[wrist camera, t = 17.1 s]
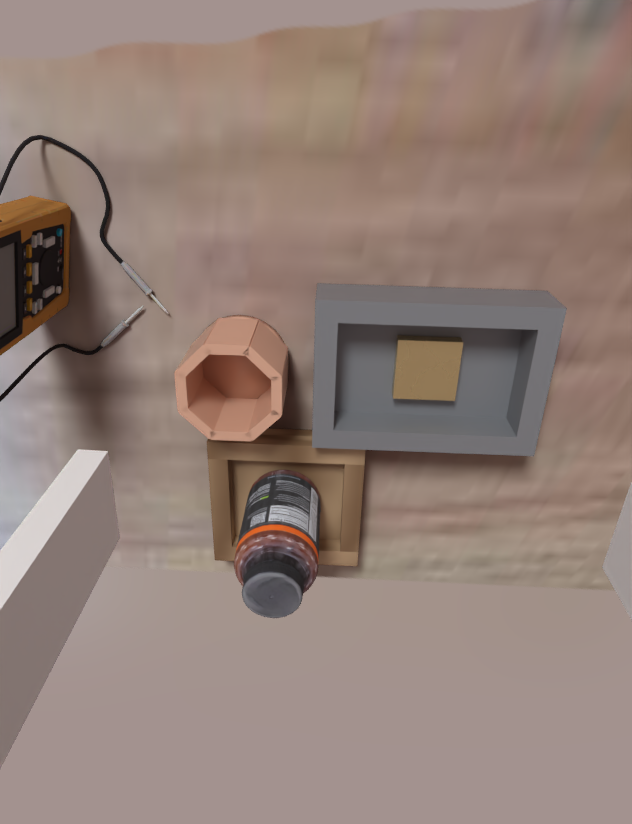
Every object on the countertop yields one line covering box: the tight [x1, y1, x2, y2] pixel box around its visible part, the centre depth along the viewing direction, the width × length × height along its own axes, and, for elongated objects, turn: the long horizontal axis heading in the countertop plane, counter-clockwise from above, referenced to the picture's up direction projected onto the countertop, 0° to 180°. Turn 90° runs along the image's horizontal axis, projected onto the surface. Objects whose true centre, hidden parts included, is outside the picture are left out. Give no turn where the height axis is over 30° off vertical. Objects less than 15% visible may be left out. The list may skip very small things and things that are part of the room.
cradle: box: [312, 283, 567, 456], centre depth 43 cm, size 16×11×4 cm
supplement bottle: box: [234, 470, 321, 618], centre depth 44 cm, size 6×6×11 cm
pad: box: [392, 335, 463, 401], centre depth 43 cm, size 4×4×1 cm
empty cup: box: [174, 315, 289, 441], centre depth 42 cm, size 7×7×6 cm
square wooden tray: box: [207, 428, 366, 566], centre depth 49 cm, size 12×12×2 cm
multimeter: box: [0, 135, 168, 401], centre depth 33 cm, size 15×10×20 cm
